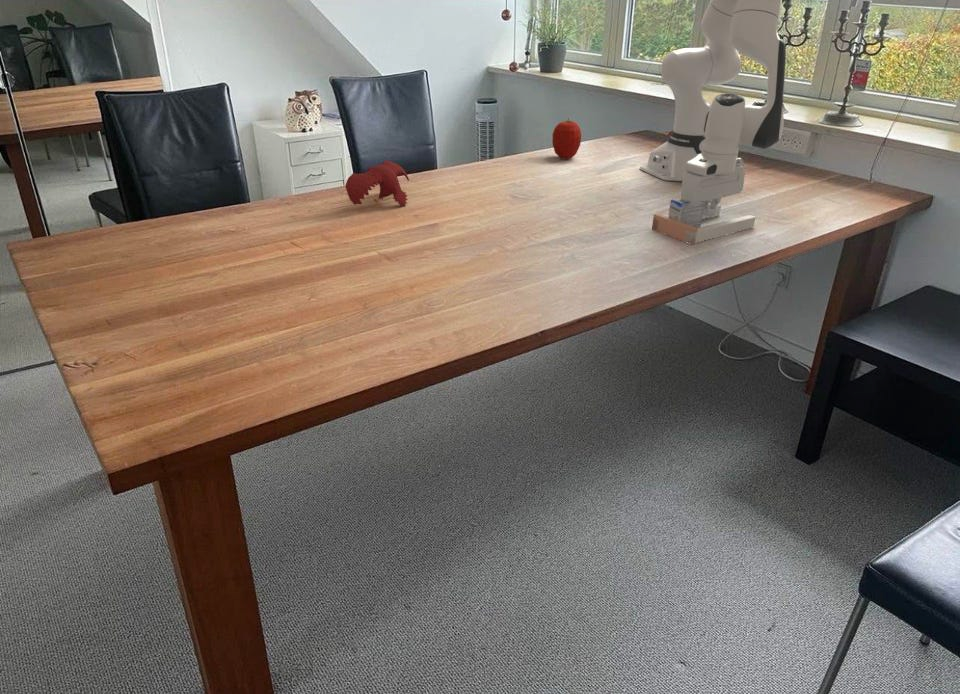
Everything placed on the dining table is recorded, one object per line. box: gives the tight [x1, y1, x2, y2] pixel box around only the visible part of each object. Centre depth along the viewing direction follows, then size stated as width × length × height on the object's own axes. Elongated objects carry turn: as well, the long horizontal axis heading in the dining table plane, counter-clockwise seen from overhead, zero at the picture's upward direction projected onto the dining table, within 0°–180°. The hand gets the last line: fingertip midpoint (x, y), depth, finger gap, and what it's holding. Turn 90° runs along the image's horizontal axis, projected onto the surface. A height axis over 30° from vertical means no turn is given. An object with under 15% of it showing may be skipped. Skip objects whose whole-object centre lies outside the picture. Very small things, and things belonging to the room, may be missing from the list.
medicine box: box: [667, 197, 705, 228], centre depth 181 cm, size 8×4×9 cm, turn 119°
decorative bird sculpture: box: [345, 160, 410, 207], centre depth 199 cm, size 28×9×15 cm
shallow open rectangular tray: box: [651, 203, 756, 245], centre depth 185 cm, size 14×24×4 cm, turn 123°
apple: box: [552, 117, 582, 160], centre depth 245 cm, size 10×10×14 cm
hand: (708, 214), depth 185 cm, fingers closed
